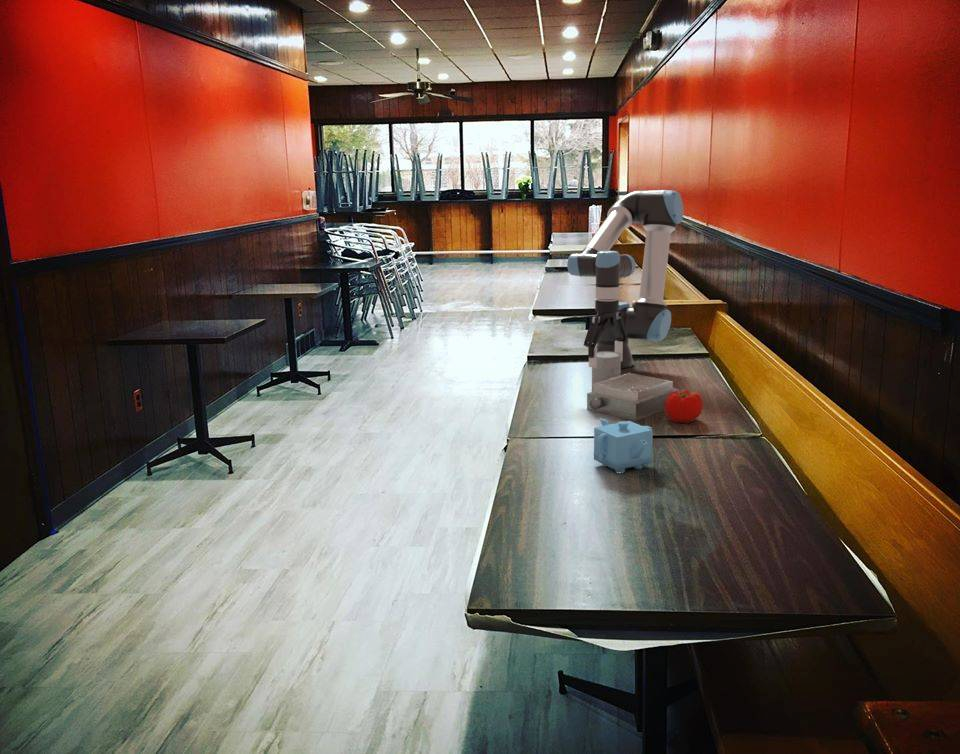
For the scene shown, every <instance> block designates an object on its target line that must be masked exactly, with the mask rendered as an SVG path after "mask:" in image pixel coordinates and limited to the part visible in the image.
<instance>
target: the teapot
mask: <svg viewBox="0 0 960 754" xmlns="http://www.w3.org/2000/svg"><path fill="white" fill-rule="evenodd" d="M599 421H600V422H601V424H602V425H601V426H596V427H594V428H593V460H594V461H597V462H598V463H601V465H602V464H603V465H605V466H604V467H606V466H608V468H611V469H612V470H614V471H615V473H616V472H621V473H620V474H623V473H622V472H625V473H626V469H629V468H634V469H636V470H642V468H643V469H644V466H643V465H646V464H651V463H653V461H652V460H653V427H651V426H649V425H640V424H639V423H635V422H633V421H632V420H625V421H622V420H621V421H618V422H617V423H616V422H615V423H611V424H609V422H608V421H607V419H605V418H603V417H599Z"/></svg>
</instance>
